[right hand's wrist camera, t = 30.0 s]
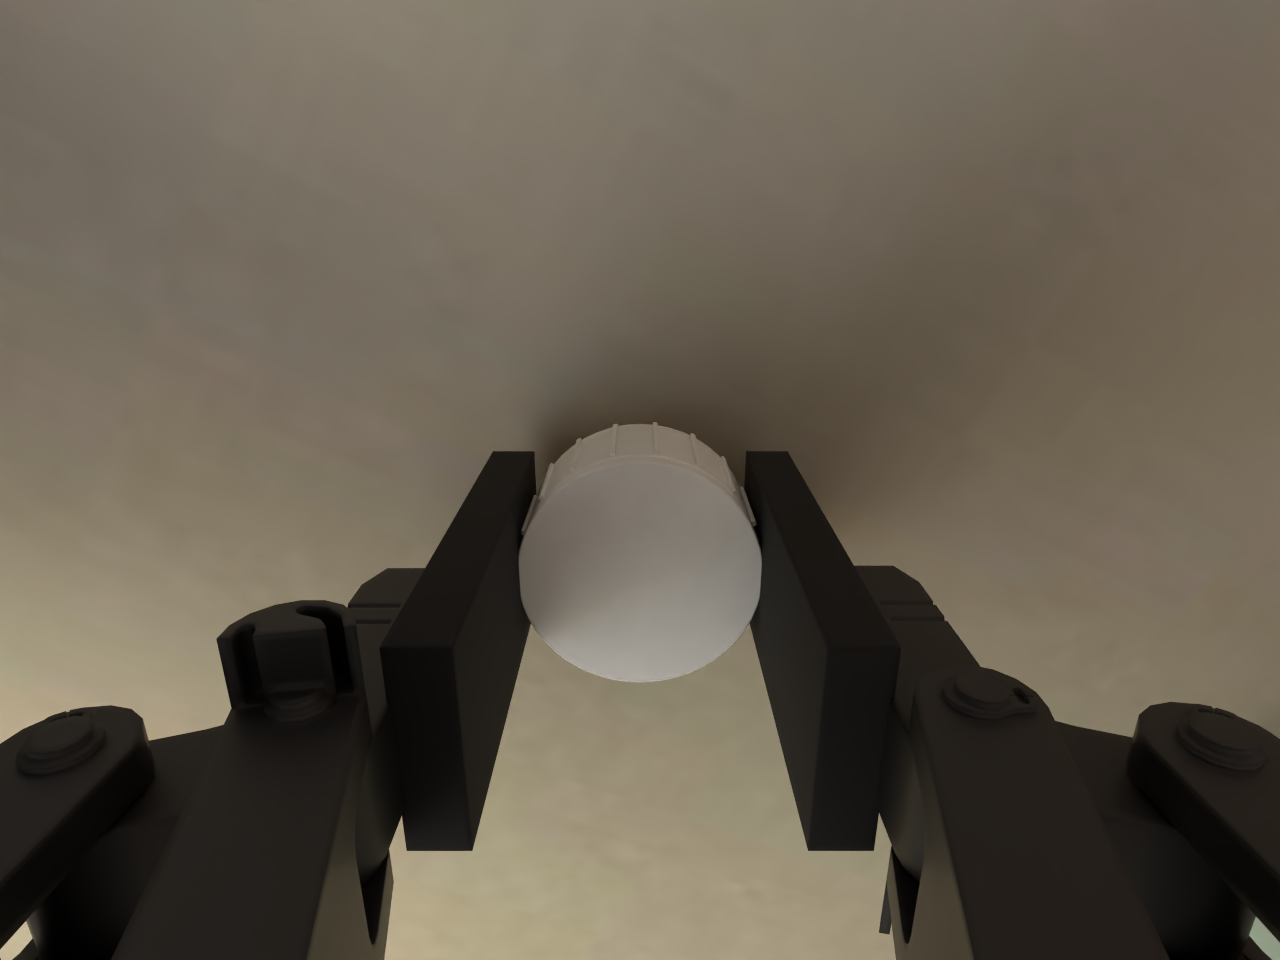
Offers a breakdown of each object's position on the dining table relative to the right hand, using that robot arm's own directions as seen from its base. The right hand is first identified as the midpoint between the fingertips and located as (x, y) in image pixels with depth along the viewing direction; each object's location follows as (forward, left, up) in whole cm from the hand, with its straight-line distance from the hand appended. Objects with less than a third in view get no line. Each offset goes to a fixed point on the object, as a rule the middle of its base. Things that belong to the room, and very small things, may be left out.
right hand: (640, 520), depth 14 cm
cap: (0, 0, +2) cm, 2 cm away
